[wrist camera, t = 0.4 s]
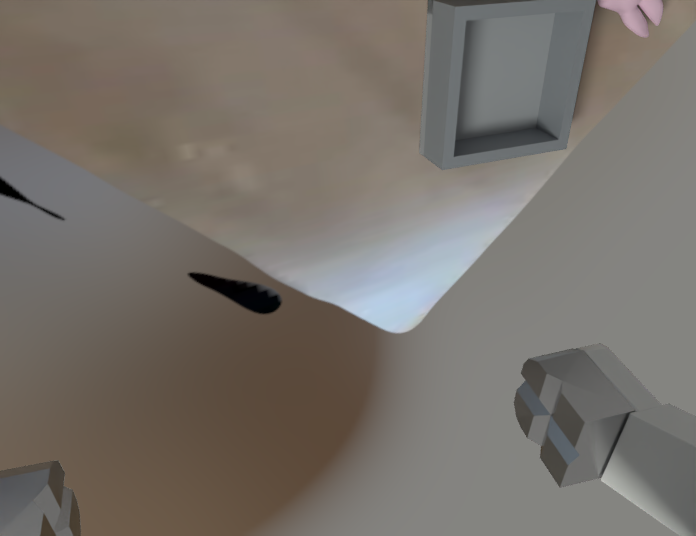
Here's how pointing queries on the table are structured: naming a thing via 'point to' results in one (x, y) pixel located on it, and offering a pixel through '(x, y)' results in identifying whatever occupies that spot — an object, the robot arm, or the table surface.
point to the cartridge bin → (500, 78)
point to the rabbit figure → (636, 13)
